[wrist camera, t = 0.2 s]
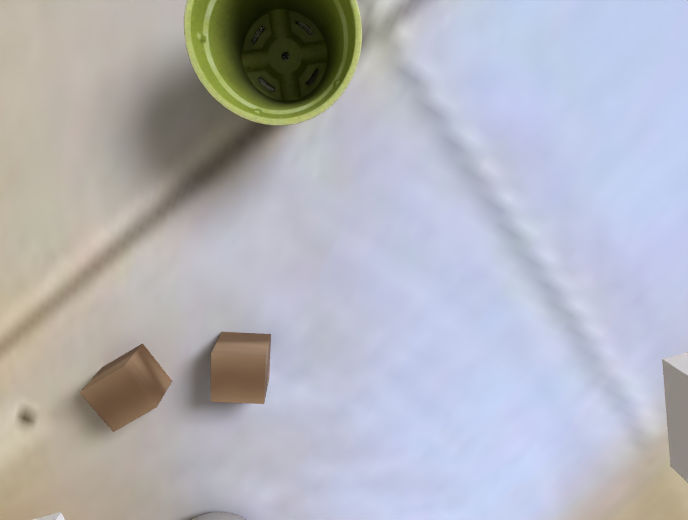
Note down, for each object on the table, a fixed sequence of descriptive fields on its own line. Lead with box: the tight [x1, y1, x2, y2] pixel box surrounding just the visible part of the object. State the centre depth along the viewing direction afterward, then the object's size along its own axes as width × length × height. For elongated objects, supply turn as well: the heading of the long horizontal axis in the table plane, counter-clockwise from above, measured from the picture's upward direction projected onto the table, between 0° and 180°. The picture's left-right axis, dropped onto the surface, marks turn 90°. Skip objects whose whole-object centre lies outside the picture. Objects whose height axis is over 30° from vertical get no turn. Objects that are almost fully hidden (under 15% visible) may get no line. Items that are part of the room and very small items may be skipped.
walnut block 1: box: [80, 344, 172, 432], centre depth 37 cm, size 4×4×4 cm
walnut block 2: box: [211, 332, 271, 404], centre depth 37 cm, size 4×4×4 cm
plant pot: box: [184, 0, 362, 126], centre depth 29 cm, size 9×9×9 cm
